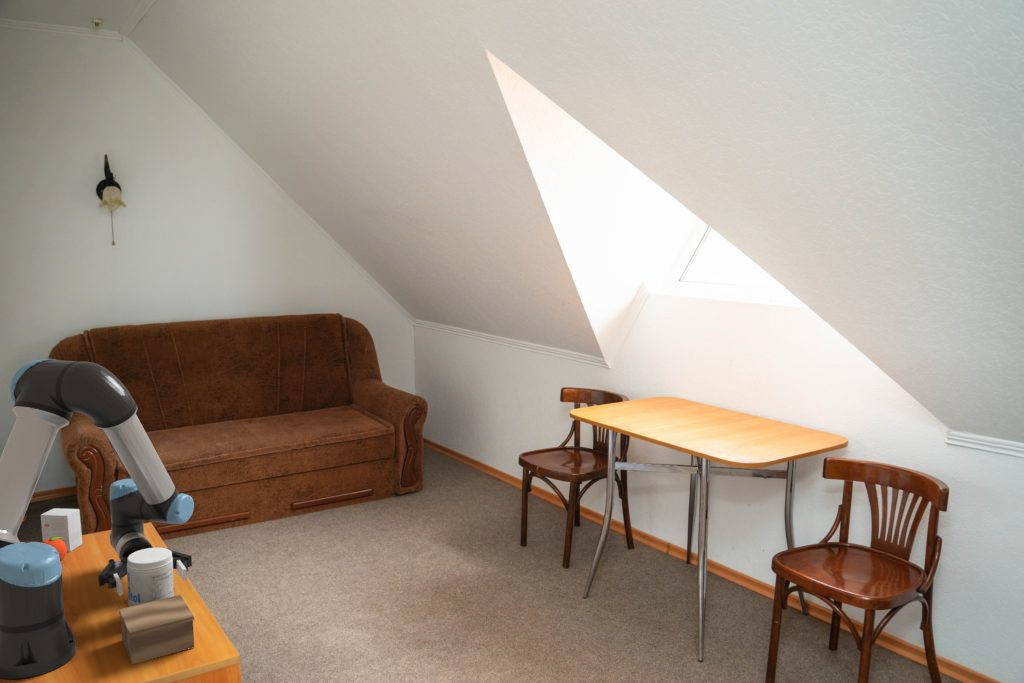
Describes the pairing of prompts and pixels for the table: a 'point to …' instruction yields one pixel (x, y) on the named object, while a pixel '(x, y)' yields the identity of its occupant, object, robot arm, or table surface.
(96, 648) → the table surface
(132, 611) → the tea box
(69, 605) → the table surface
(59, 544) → the clementine
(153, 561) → the supplement tub
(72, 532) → the small box
